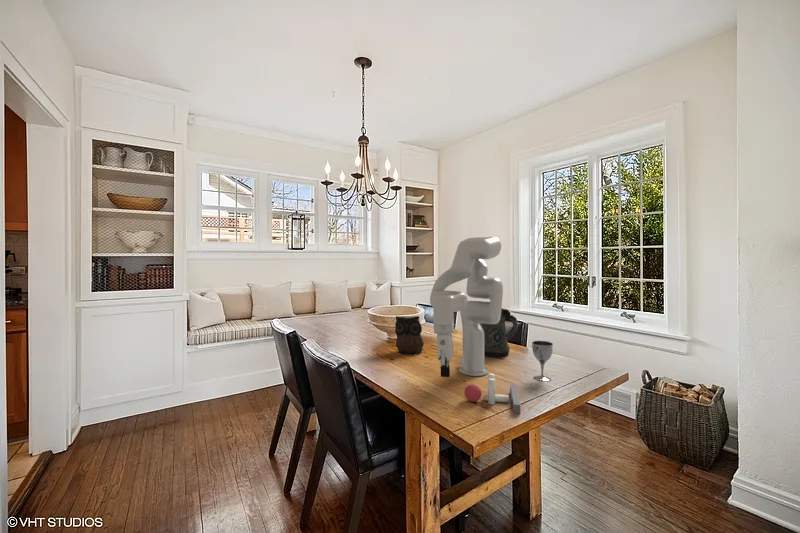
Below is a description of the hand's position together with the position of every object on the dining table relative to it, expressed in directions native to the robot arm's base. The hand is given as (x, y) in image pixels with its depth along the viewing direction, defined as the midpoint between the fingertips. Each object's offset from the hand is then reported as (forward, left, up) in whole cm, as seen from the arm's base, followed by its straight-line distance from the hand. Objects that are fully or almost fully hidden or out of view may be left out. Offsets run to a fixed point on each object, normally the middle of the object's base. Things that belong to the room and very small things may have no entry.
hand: (445, 376), depth 131 cm
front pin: (+11, +9, -6) cm, 15 cm away
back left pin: (+11, +13, -7) cm, 18 cm away
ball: (+10, +5, -4) cm, 12 cm away
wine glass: (+8, +45, -7) cm, 46 cm away
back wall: (+18, +17, -7) cm, 26 cm away
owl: (-56, +21, -7) cm, 60 cm away
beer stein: (-29, +57, -7) cm, 64 cm away
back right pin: (+14, +9, -7) cm, 18 cm away
